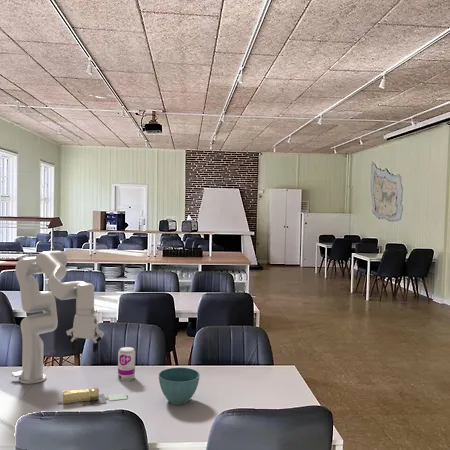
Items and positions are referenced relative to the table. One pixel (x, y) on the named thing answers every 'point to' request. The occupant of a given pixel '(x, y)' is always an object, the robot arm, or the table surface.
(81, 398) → the bar
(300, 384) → the table surface
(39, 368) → the robot arm
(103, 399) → the lock base plate
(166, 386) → the teal round bowl
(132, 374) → the supplement can
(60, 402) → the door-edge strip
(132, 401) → the table surface
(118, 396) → the keeper pad
